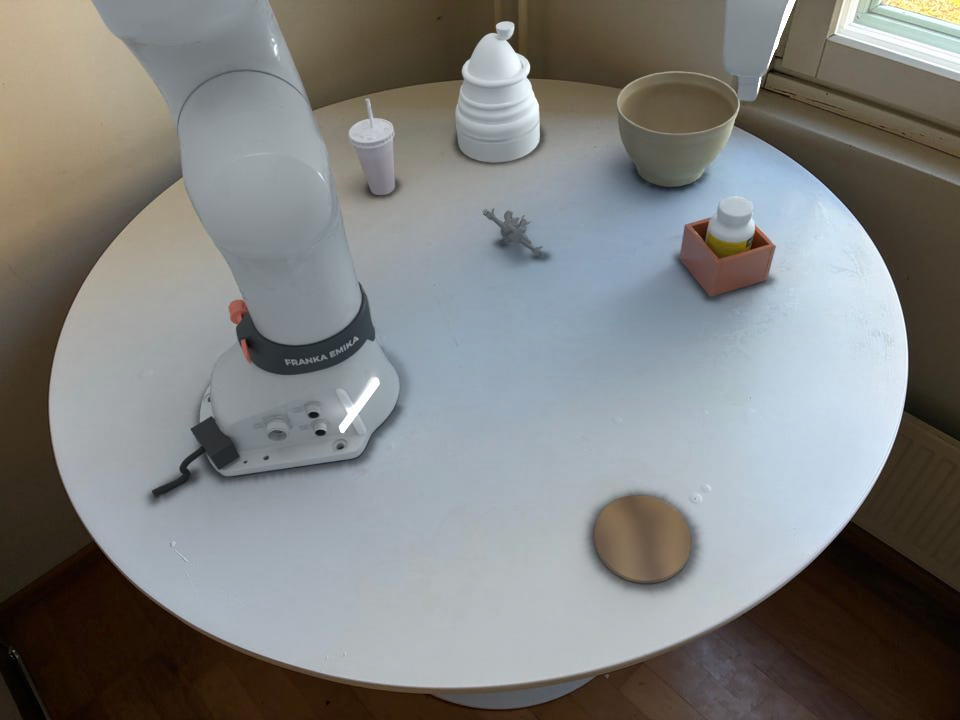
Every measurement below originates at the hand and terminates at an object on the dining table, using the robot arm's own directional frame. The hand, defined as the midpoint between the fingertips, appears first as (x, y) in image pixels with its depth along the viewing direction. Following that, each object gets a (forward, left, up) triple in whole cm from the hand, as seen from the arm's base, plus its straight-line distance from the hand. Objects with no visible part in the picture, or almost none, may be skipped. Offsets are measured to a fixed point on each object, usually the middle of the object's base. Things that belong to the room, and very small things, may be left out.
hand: (757, 72), depth 76 cm
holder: (+1, 0, -27) cm, 27 cm away
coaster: (-25, -30, -27) cm, 48 cm away
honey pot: (-15, +40, -27) cm, 51 cm away
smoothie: (-35, +35, -27) cm, 56 cm away
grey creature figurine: (-22, +15, -27) cm, 38 cm away
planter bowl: (+5, +22, -27) cm, 35 cm away
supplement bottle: (+1, 0, -27) cm, 27 cm away
